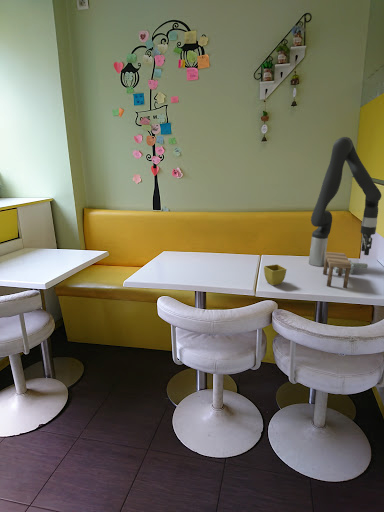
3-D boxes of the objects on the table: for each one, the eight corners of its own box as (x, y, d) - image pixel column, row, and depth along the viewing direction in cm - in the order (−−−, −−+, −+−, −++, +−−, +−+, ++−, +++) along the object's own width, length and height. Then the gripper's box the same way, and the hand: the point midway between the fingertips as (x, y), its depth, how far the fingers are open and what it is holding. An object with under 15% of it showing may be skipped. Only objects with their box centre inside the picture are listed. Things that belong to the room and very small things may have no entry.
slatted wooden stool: (322, 273, 197) (325, 251, 193) (341, 275, 195) (344, 253, 191) (326, 286, 179) (330, 262, 175) (347, 288, 177) (351, 264, 173)
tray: (333, 267, 208) (334, 257, 206) (363, 269, 204) (365, 260, 202) (335, 272, 198) (337, 263, 197) (367, 275, 194) (369, 265, 193)
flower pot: (262, 281, 185) (263, 265, 182) (276, 279, 188) (277, 264, 185) (271, 287, 177) (272, 271, 174) (285, 285, 180) (287, 269, 177)
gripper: (359, 222, 198) (355, 249, 203) (364, 227, 185) (359, 256, 190) (373, 223, 196) (369, 250, 201) (379, 228, 183) (374, 257, 188)
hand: (364, 253), depth 195 cm, fingers open, 8 cm apart
